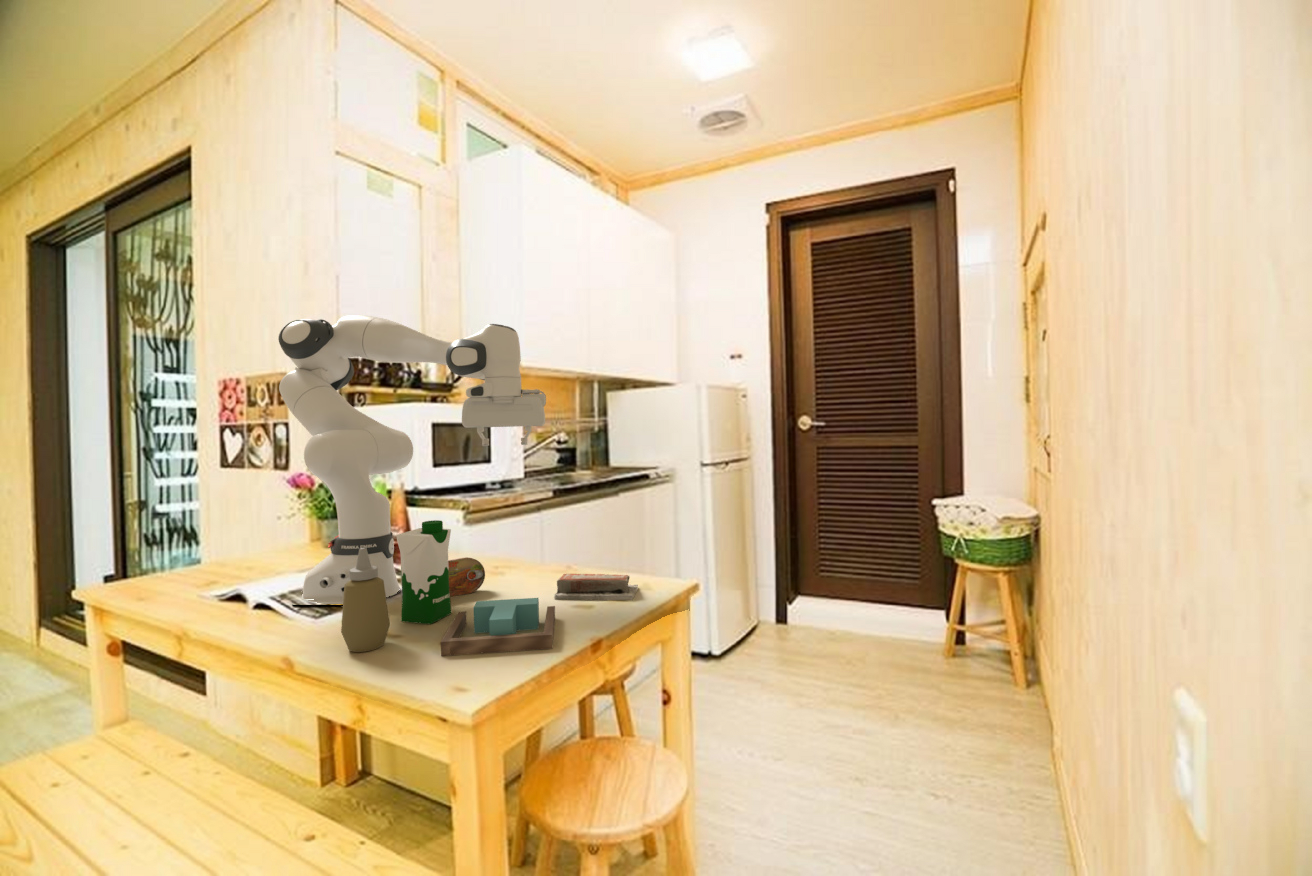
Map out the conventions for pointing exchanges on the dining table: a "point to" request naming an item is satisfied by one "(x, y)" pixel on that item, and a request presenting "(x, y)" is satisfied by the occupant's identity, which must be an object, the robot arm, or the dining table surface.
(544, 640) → the walnut dock
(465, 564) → the tin
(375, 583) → the squeeze bottle
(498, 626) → the teal T block
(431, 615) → the milk carton
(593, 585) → the packaged product
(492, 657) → the dining table surface
